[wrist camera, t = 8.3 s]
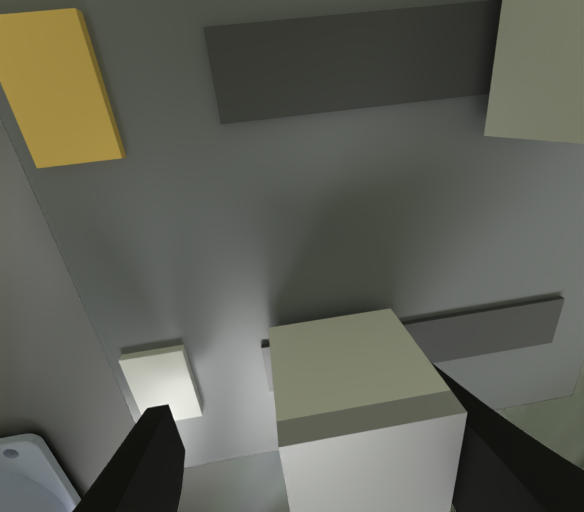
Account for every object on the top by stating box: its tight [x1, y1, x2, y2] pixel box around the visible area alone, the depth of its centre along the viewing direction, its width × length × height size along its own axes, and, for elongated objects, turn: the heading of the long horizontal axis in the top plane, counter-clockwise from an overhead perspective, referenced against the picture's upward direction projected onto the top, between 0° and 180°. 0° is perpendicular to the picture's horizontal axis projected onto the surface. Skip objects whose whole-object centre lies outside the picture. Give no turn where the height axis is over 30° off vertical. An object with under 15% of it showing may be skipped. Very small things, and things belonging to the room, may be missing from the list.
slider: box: [268, 308, 467, 512], centre depth 9 cm, size 4×4×4 cm
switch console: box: [0, 0, 584, 468], centre depth 10 cm, size 18×18×1 cm
